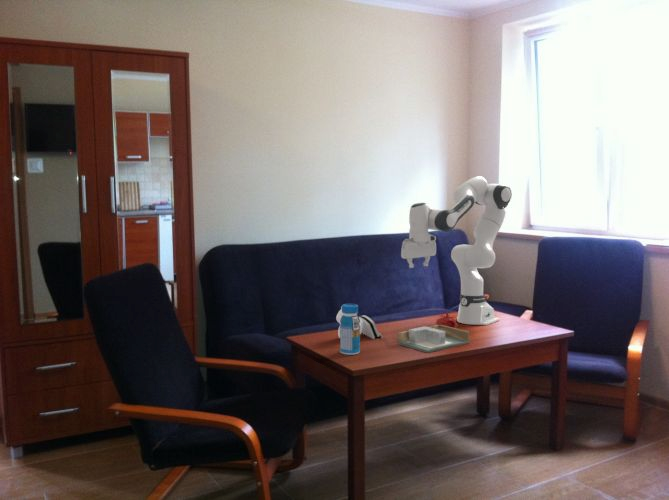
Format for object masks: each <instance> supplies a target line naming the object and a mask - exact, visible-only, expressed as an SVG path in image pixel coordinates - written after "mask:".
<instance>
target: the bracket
mask: <svg viewBox="0 0 669 500" xmlns="http://www.w3.org/2000/svg"><path fill="white" fill-rule="evenodd" d="M408 331H409V342H411V343H414V344H416V343H421V342H428V343H432V344H435V345H442V344H445V331H442V330H438V329H434V328H430V327H429V326H425V325H424V326H421V327H420V326H419V327H415V328H410V329H408Z"/></svg>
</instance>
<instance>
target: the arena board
mask: <svg viewBox="0 0 669 500" xmlns="http://www.w3.org/2000/svg"><path fill="white" fill-rule="evenodd" d="M470 341H471V340H470ZM470 341H466V340H462V339H458V338H454V337H450V336H446V335H445V344H442V345H435V344H432V343H428V342H421V343H416V344H414V343H411V342H409V340H408V341H403V342H398V341H397V345H401V346H404V347H408V348H411V349H413V350H417V351H421V352H423V353H427V354H428V353H432V352H437V351H441V350H444V349H450V348H454V347H458V346H462V345H463V346H464V345H468V344H470V343H471V342H470Z"/></svg>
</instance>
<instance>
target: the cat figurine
mask: <svg viewBox="0 0 669 500" xmlns="http://www.w3.org/2000/svg"><path fill="white" fill-rule="evenodd" d="M342 315H343V313H342V305H341V307H340V310H338V312H337V314H336V317H335V319H336V321H337V323H338V324H339V327H338V330H337V335H338V338H339V339H340V325H341V323H340V319H341V317H342ZM359 324H360V335H362V333H361V332H362V329H363V322H362V320H361V319H360V323H359Z"/></svg>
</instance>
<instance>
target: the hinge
mask: <svg viewBox="0 0 669 500" xmlns="http://www.w3.org/2000/svg"><path fill="white" fill-rule="evenodd" d="M358 317H359V319H361V320H362V322H363V329H362V332H361V334H362V333H363V334H362V335H364V334H365V335H364V336H366V335H367V336H366V337H368V338H370V339H371V340H375V339H376V338H380V339H383V335H382V334H381V333H380V332H379V331H378V328H377V326H376V323H375V321H374V320H372V319H371V318H370V317H369V316H367V315H365V314H364V315H360V316H359V315H358ZM359 325H360V324H359Z"/></svg>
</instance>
